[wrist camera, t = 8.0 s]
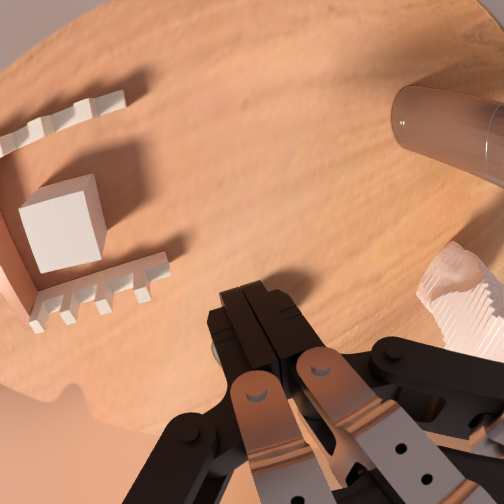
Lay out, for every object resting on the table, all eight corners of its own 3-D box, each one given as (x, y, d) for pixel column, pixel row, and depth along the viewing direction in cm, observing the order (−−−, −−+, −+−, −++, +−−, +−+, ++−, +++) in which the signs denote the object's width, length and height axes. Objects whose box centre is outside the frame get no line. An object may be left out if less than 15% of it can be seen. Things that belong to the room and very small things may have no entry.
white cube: (38, 187, 23) (18, 208, 18) (94, 172, 25) (83, 190, 20) (54, 243, 26) (40, 274, 21) (107, 230, 28) (101, 259, 23)
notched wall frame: (123, 90, 22) (119, 87, 18) (169, 263, 32) (175, 292, 27) (-35, 160, 18) (-62, 174, 14) (29, 307, 28) (19, 338, 23)
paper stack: (447, 218, 46) (560, 294, 25) (476, 268, 60) (549, 326, 39) (380, 314, 50) (475, 413, 29) (427, 336, 65) (492, 403, 44)
